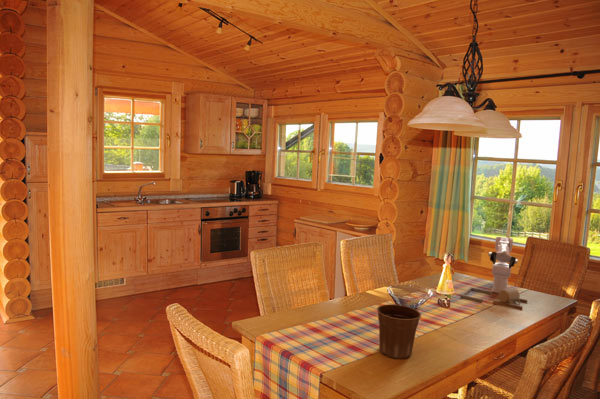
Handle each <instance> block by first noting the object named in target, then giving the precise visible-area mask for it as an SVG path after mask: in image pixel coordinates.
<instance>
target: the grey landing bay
mask: <svg viewBox="0 0 600 399" xmlns="http://www.w3.org/2000/svg"><path fill="white" fill-rule="evenodd" d="M472 291H473V292H479V293H483V294H488V295H492V293H493V292H492V291H491V290H487V289H482V288H477V287H471V286H469V288H468V289H466V290H465V291H463V293H461V294H460V298H461V299H465V300H470V301H475V302H479V303H482V302H483V303H484V299H483V298H478V297H476V296H475V297H473V296H470V295H468V294H470V292H472Z"/></svg>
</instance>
